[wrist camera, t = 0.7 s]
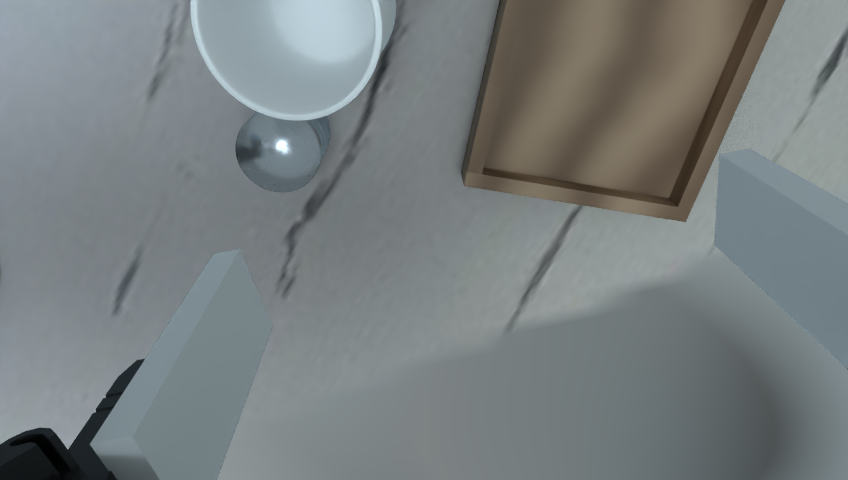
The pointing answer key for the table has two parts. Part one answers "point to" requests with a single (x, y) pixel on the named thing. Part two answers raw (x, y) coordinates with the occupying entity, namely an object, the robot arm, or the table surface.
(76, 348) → the table surface
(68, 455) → the robot arm
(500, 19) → the tray
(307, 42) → the mug
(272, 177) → the grey tin
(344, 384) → the table surface
